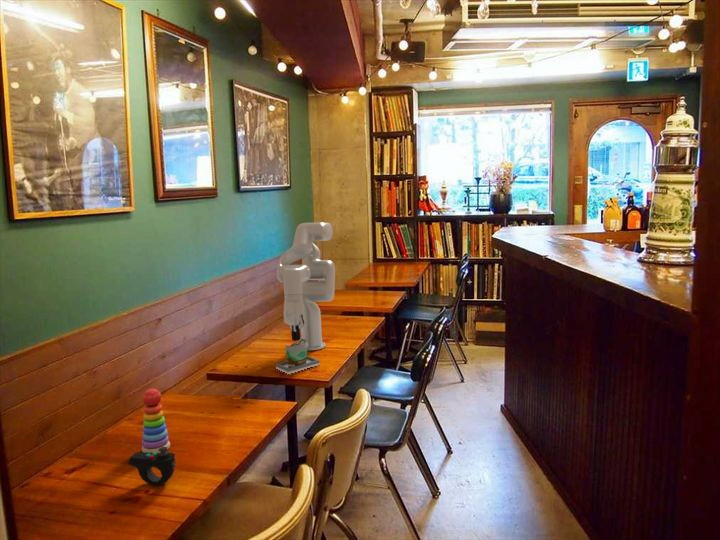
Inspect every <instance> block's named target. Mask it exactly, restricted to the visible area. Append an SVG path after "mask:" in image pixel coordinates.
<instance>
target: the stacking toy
mask: <svg viewBox="0 0 720 540" xmlns="http://www.w3.org/2000/svg"><path fill="white" fill-rule="evenodd" d="M161 400H162V394H161V392H160V390H158V389H156V388H149V389H147V390H146V391H145V392H144V393H143V396H142V401H143V403H144V404H145V406H144V408H143V411H144V413H143V414H142V415H143V422H142V423H143V428H142V432H143V433H142V440H141V445H142V446H141V451H142V452H144V453H160V451H159V449H160V448H161V447H167V450H166V451H168V450H169V449H170V447H171V442H170V440H169V435H168V433H169V431H168V428H167V424H166V422H165V420H166V419H165V416H164V412H163V410H162V409H163V405H162V404H161V403H160V402H161Z"/></svg>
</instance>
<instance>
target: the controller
mask: <svg viewBox="0 0 720 540" xmlns="http://www.w3.org/2000/svg"><path fill="white" fill-rule="evenodd" d="M159 451H160V453H144V452H140V451H137V452H134V453H133V454H132V455H131V456H130V457H129V459H128V465H130V466H133V467H135V468H136V469H137V470H138V471H137V473H138V474H139V476H140V478H141V479H142V480H143V481H144V482H145V483H146V484H148V485H150V486H161V485H164V484H165V483H167V482H168V481H169V480H170V479H171V478H172V476H173V475H174V472H175V469H176V467H177V466H176V458H175V457H176V453H174V452H168V450H167V447H161V448H160V449H159ZM152 468H155V469H158V470H159V471H160V474H161V476H157V475H156V474H155V473H154V472H153V469H152Z"/></svg>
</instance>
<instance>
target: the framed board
mask: <svg viewBox="0 0 720 540" xmlns="http://www.w3.org/2000/svg"><path fill="white" fill-rule="evenodd" d="M318 365H320V360H319V359H318V358H315V357H312V356H309V355H307V360H306V363H305V364H302V365H298V366H295V367H291V368H288V361H287V360H285V361H282V362H278V363H275V368H276V370H277V369H278V370H277V371H279V370H280V371H279V372H281V371H282V372H281V373H283V372H285V373H284V374H286V373H287V374H286V375H288V374H289V375H292V374H291V373H293V374H296V373H299V372H298V371H300V372H302V371H301V370H303V371H305V370H304V369H306V370H308V369H307V368H310V367H313V368H315V367H314V366H317V367H319V366H318ZM320 366H321V365H320ZM310 369H311V368H310ZM295 372H296V373H295Z"/></svg>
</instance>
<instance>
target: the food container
mask: <svg viewBox="0 0 720 540" xmlns="http://www.w3.org/2000/svg"><path fill="white" fill-rule="evenodd" d="M307 347H308V342H307V340H306V339H302V338H301V340H298V341H295V342H293V343H292V344H290V345H285V347H284V351H285V352H286V353H285V354H286V361H288V368H291V367H295V366H298V365H302V364H305V363H306V360H307V356H308V355H307V353H308V351H307Z"/></svg>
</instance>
